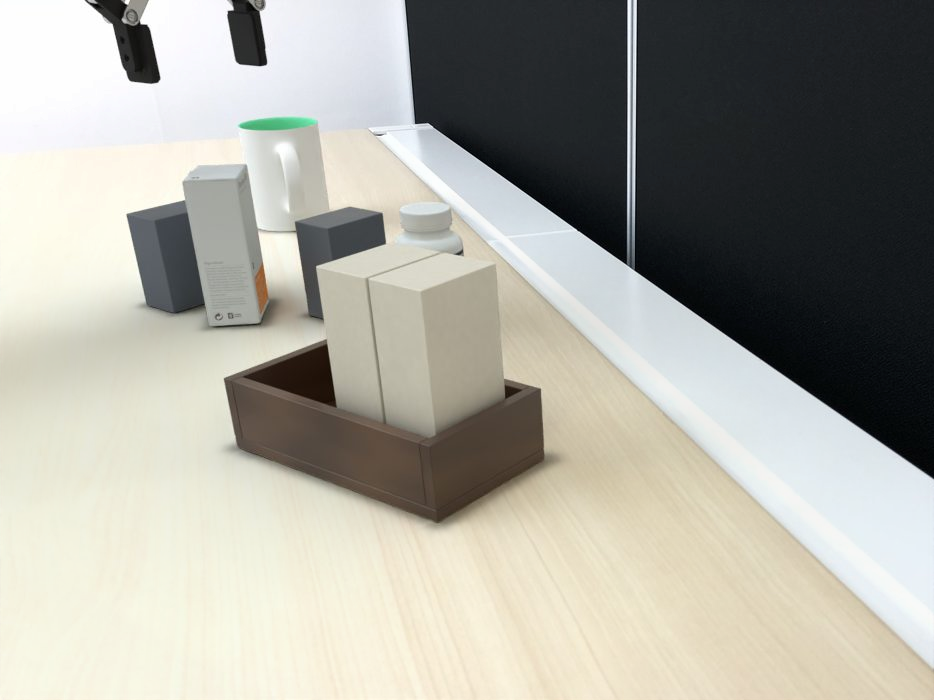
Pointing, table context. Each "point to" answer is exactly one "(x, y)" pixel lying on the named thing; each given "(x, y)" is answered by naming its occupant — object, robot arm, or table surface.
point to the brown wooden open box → (381, 437)
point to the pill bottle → (429, 228)
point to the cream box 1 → (358, 323)
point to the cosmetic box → (226, 243)
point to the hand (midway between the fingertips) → (200, 73)
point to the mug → (284, 170)
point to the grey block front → (334, 243)
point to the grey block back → (166, 257)
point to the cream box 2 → (438, 342)
